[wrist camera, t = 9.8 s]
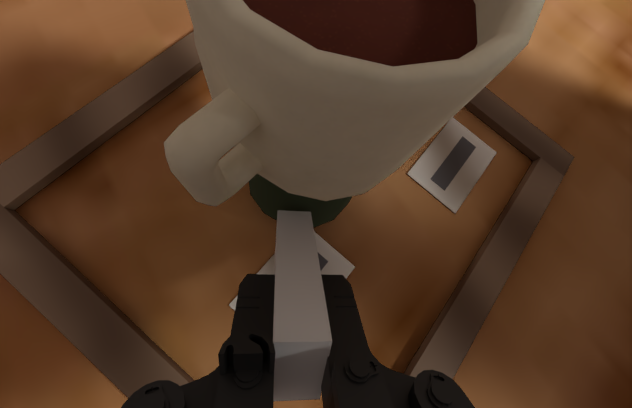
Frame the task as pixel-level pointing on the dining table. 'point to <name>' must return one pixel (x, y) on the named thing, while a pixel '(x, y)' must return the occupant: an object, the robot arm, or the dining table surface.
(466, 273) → the label frame
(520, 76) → the dining table surface
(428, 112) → the character mug
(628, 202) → the dining table surface
